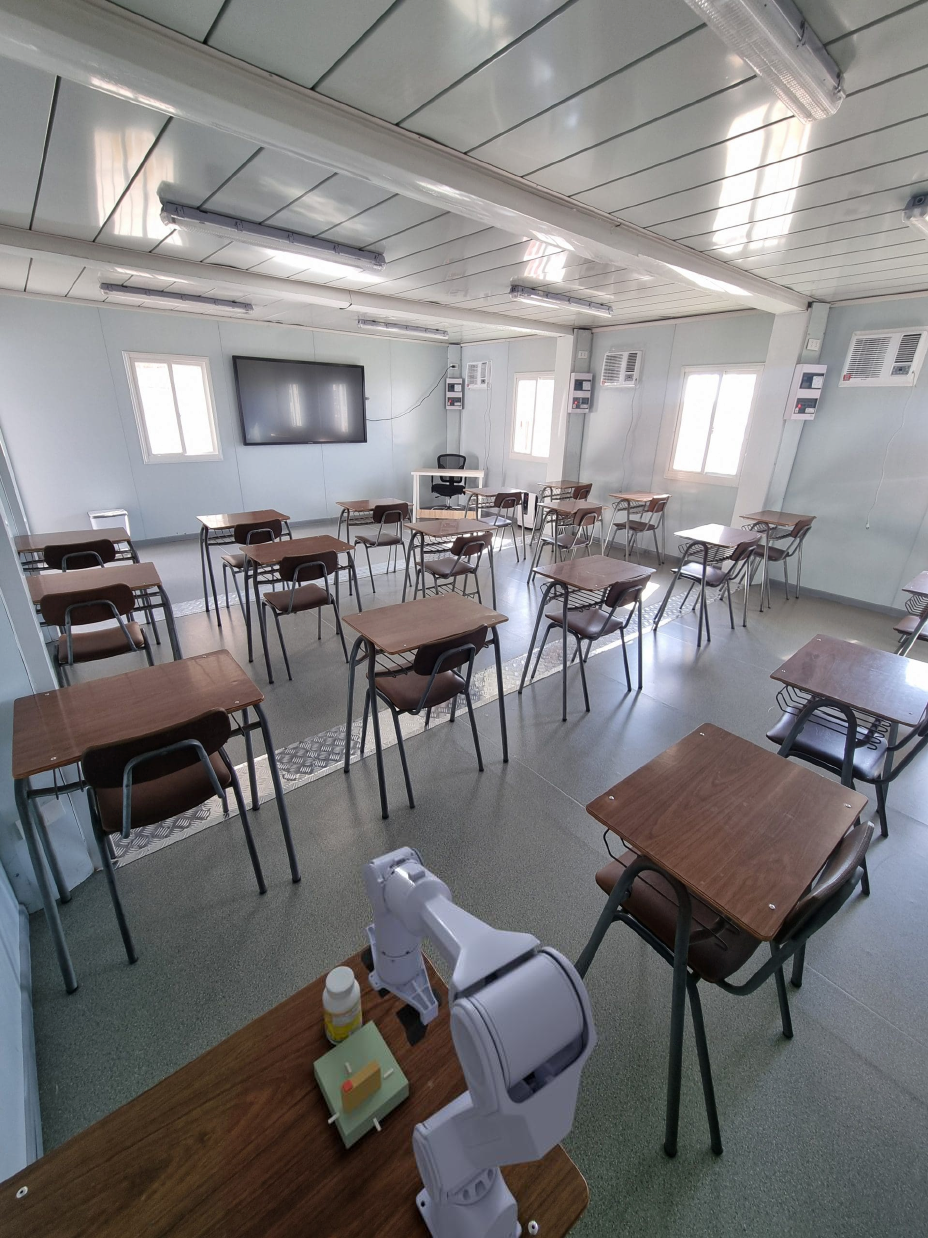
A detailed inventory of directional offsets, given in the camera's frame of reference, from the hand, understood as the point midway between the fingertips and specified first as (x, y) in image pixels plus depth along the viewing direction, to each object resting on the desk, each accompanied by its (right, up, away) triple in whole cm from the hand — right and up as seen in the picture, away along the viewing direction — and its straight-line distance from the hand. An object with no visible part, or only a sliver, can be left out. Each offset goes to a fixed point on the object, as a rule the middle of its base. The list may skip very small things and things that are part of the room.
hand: (401, 1015), depth 67 cm
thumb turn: (-5, -9, -2) cm, 10 cm away
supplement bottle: (-10, -9, +8) cm, 15 cm away
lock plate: (-5, -11, 0) cm, 12 cm away
